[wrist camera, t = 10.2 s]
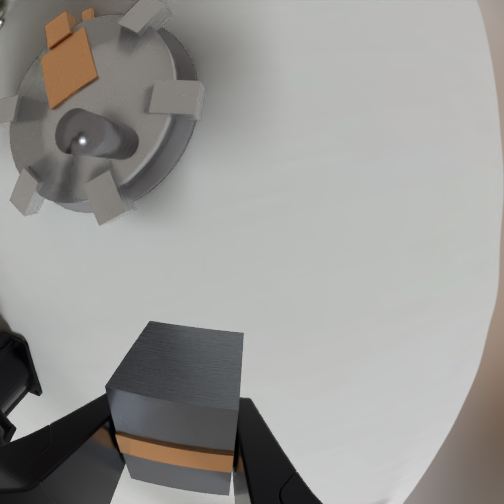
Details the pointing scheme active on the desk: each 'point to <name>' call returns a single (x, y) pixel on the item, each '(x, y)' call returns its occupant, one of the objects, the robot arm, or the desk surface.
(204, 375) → the banded grey cube
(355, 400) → the desk surface
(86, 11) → the plinth
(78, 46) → the sprocket
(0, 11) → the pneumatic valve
